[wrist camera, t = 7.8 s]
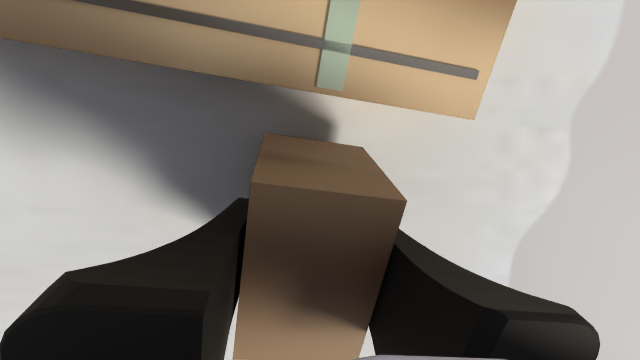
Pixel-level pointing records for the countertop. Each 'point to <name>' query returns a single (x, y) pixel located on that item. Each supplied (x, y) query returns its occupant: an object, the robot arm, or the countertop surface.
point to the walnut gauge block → (313, 250)
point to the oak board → (291, 42)
